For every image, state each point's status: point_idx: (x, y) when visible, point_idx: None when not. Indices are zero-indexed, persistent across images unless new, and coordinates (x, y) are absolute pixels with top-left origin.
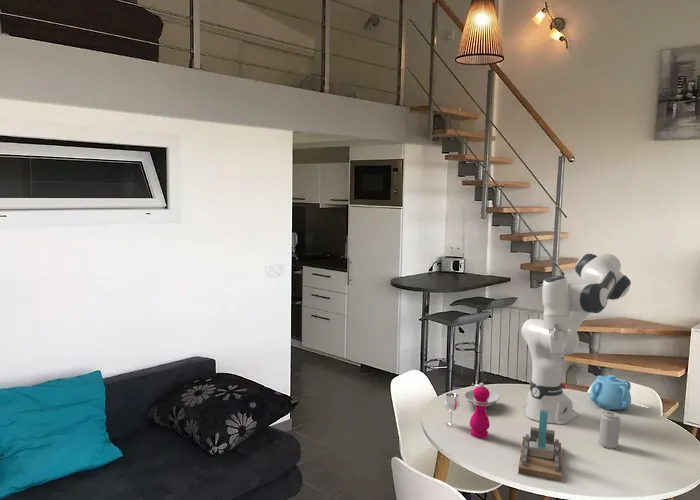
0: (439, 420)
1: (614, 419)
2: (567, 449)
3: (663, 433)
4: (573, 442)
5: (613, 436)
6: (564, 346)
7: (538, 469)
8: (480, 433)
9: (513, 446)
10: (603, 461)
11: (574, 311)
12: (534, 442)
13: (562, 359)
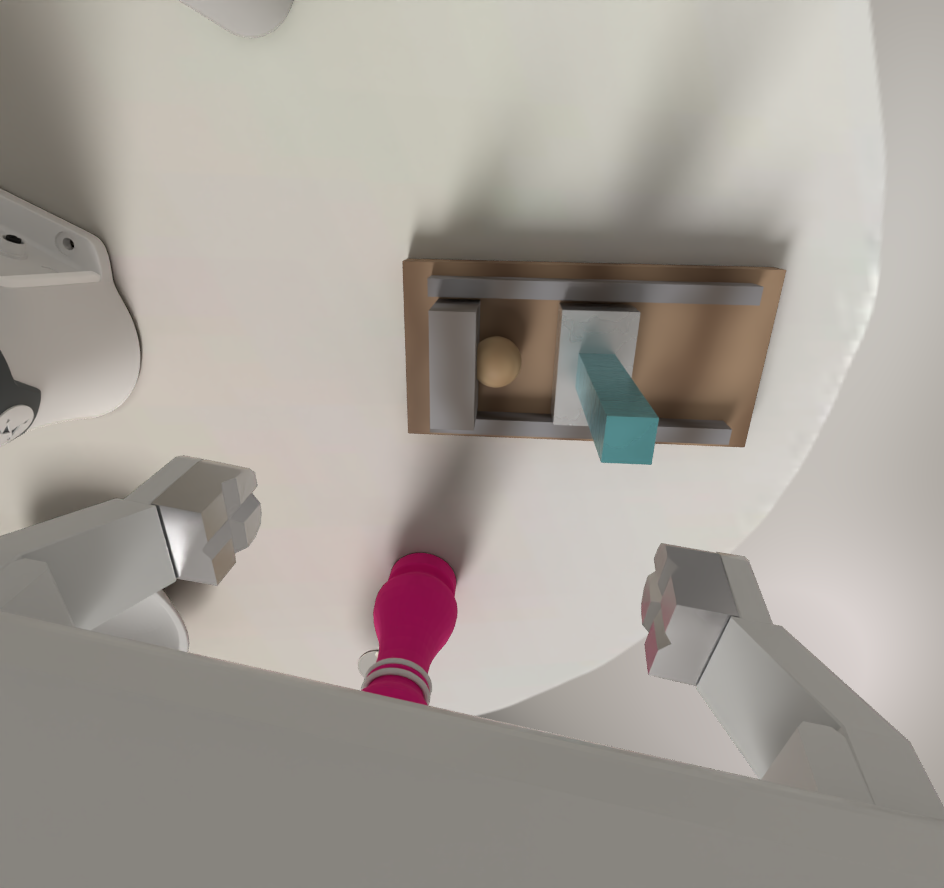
0: None
1: None
2: (408, 225)
3: None
4: (306, 190)
5: None
6: (373, 824)
7: (745, 369)
8: (450, 586)
9: (478, 458)
10: (482, 29)
11: None
12: (564, 402)
13: (225, 501)
